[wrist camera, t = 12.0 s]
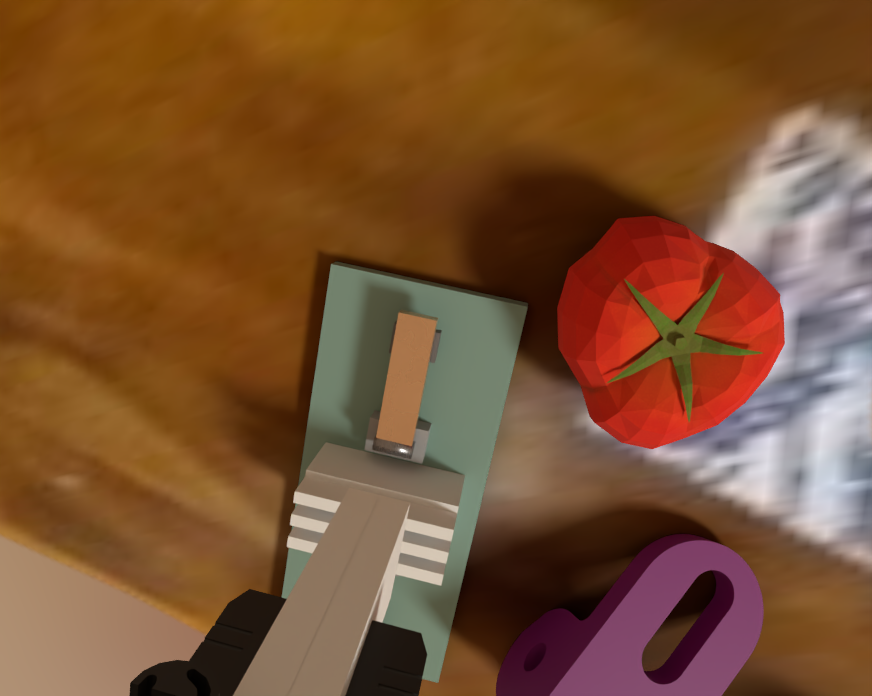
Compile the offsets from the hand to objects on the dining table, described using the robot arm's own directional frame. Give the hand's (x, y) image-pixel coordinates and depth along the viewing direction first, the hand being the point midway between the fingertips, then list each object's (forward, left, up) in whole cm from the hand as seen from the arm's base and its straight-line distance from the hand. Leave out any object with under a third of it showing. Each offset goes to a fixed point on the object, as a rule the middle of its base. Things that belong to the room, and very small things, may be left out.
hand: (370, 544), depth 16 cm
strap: (+6, -3, -27) cm, 28 cm away
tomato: (-2, +12, -30) cm, 32 cm away
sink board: (+14, -3, -30) cm, 33 cm away
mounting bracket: (+21, +16, -30) cm, 40 cm away
